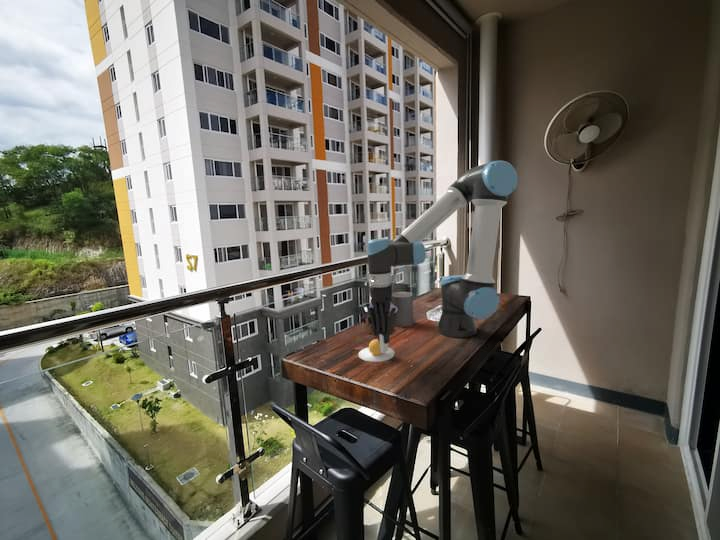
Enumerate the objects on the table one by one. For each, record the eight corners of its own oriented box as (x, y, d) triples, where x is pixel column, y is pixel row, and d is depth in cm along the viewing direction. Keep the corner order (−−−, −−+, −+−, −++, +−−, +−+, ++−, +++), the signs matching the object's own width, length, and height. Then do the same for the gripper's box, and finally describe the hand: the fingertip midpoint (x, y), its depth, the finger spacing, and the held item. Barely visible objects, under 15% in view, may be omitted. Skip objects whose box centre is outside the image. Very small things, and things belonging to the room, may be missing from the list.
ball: (387, 353, 117) (375, 349, 120) (387, 339, 115) (374, 335, 119) (378, 359, 113) (365, 355, 116) (378, 344, 111) (365, 340, 115)
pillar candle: (387, 324, 148) (386, 292, 145) (401, 318, 154) (400, 287, 151) (404, 329, 140) (402, 295, 138) (418, 323, 147) (417, 290, 144)
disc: (374, 344, 126) (374, 343, 126) (402, 351, 117) (402, 351, 117) (350, 355, 116) (350, 355, 116) (379, 365, 108) (379, 364, 107)
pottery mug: (390, 328, 144) (389, 315, 139) (379, 343, 138) (377, 331, 133) (367, 318, 150) (365, 306, 144) (355, 333, 144) (353, 320, 139)
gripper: (358, 285, 112) (363, 350, 115) (389, 289, 103) (392, 359, 107) (373, 281, 117) (376, 344, 121) (402, 284, 108) (406, 351, 112)
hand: (384, 351), depth 114 cm, fingers closed
